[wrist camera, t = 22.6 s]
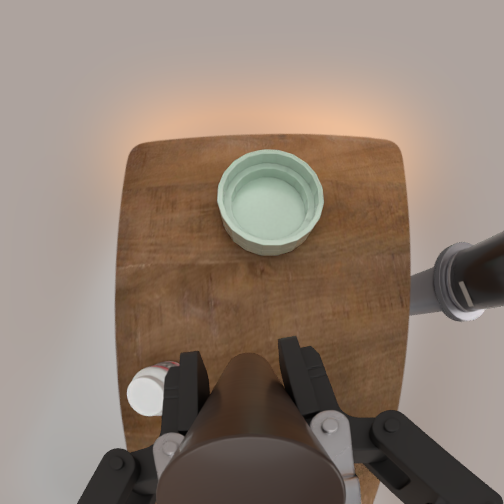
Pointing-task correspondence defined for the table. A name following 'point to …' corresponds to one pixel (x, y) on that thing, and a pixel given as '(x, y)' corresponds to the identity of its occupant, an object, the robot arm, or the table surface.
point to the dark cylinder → (250, 447)
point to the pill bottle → (149, 389)
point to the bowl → (269, 201)
